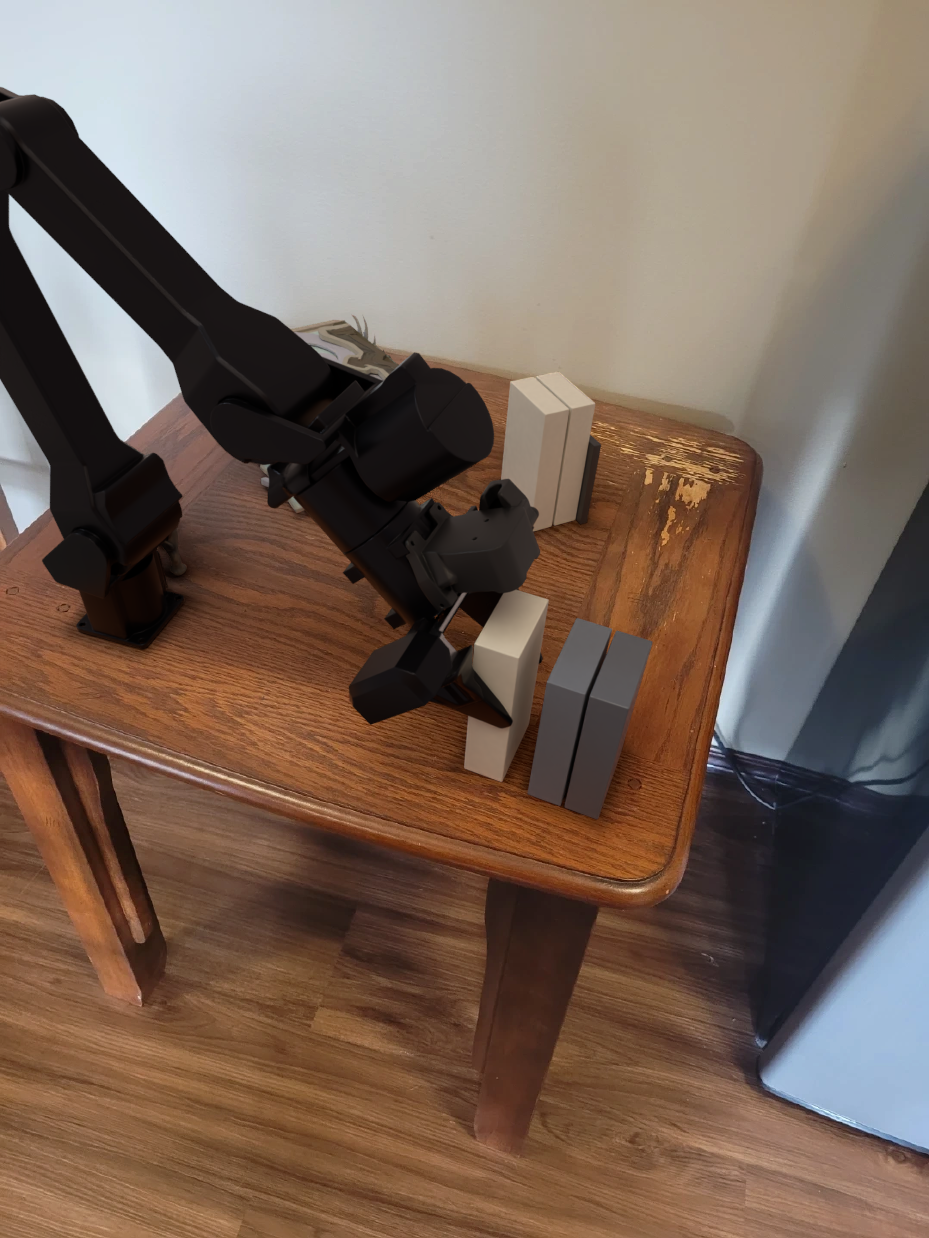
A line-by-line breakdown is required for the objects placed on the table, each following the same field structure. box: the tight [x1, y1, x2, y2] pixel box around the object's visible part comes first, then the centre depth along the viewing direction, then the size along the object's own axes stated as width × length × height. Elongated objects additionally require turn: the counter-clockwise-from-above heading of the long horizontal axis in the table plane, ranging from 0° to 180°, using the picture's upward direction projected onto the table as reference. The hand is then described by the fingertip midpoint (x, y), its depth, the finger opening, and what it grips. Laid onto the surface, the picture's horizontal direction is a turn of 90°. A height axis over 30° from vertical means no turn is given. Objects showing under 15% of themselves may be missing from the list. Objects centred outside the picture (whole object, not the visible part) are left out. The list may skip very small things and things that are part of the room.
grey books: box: [527, 617, 654, 820], centre depth 58 cm, size 5×6×12 cm
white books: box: [500, 371, 602, 533], centre depth 81 cm, size 6×8×13 cm
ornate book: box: [259, 313, 400, 514], centre depth 91 cm, size 23×10×30 cm
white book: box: [463, 589, 550, 783], centre depth 59 cm, size 3×6×13 cm, turn 158°
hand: (523, 693), depth 59 cm, fingers closed on white book, 6 cm apart
